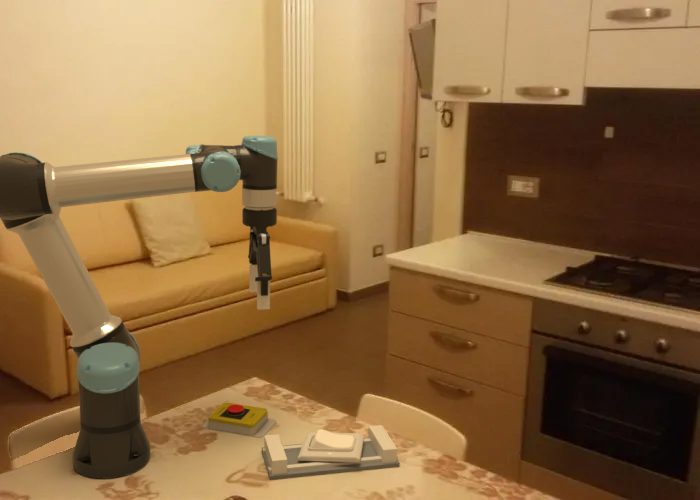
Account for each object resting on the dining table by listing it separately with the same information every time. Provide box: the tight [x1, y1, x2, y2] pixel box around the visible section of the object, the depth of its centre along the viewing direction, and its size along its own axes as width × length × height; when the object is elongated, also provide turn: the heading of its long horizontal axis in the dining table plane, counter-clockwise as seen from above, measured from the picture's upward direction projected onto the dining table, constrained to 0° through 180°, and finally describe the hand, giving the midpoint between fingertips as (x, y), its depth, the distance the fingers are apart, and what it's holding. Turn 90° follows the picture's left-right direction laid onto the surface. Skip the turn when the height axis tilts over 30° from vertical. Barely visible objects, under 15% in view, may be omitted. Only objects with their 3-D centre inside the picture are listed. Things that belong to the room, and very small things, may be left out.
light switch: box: [298, 428, 365, 462], centre depth 157 cm, size 11×4×13 cm
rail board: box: [261, 424, 400, 481], centre depth 156 cm, size 27×12×4 cm, turn 104°
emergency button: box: [201, 401, 277, 438], centre depth 170 cm, size 9×4×15 cm
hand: (259, 300), depth 168 cm, fingers open, 13 cm apart
